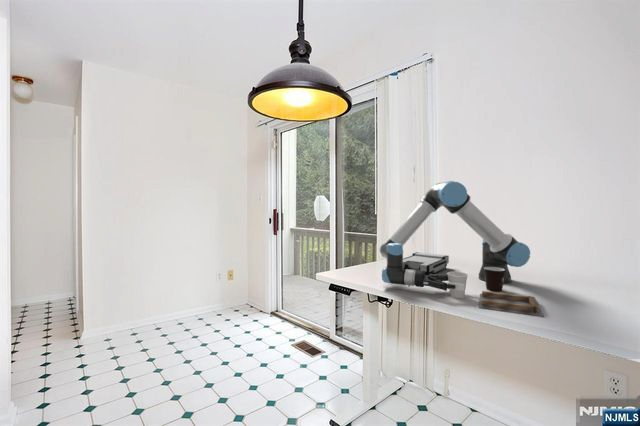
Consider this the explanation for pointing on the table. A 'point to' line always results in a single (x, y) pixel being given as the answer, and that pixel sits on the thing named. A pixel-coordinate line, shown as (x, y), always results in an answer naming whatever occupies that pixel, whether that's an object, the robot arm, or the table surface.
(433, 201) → the robot arm
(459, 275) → the dixie cup
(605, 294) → the table surface
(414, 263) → the game console
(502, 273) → the coffee mug
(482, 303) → the tray with wooden rails
